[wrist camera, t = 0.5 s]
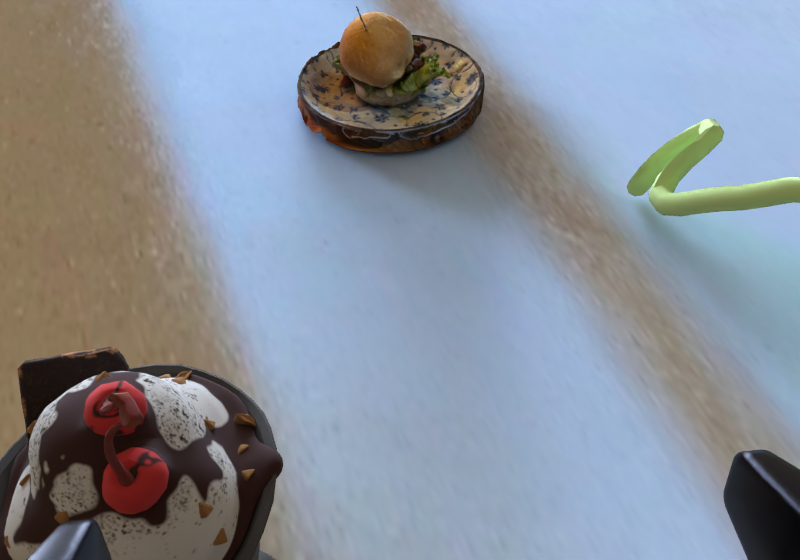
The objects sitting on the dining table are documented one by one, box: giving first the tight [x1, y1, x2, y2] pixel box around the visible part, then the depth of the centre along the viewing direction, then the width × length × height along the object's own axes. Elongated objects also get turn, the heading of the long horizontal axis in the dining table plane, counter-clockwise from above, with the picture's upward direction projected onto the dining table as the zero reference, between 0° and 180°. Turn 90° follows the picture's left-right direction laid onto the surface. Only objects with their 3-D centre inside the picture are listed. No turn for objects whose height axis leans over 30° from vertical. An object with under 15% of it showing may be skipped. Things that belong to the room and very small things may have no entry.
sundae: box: [0, 347, 283, 560], centre depth 17 cm, size 7×7×15 cm
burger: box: [297, 6, 485, 153], centre depth 41 cm, size 12×12×8 cm
